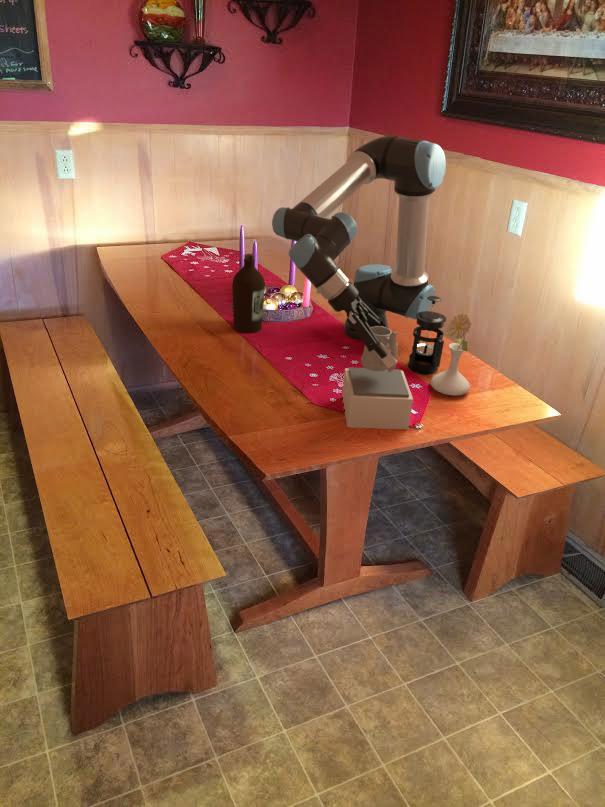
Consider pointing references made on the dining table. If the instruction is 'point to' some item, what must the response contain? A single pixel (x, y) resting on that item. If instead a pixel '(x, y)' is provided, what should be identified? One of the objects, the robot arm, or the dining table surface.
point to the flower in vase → (454, 359)
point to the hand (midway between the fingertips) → (393, 355)
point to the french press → (424, 350)
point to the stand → (376, 399)
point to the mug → (388, 340)
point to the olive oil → (248, 297)
